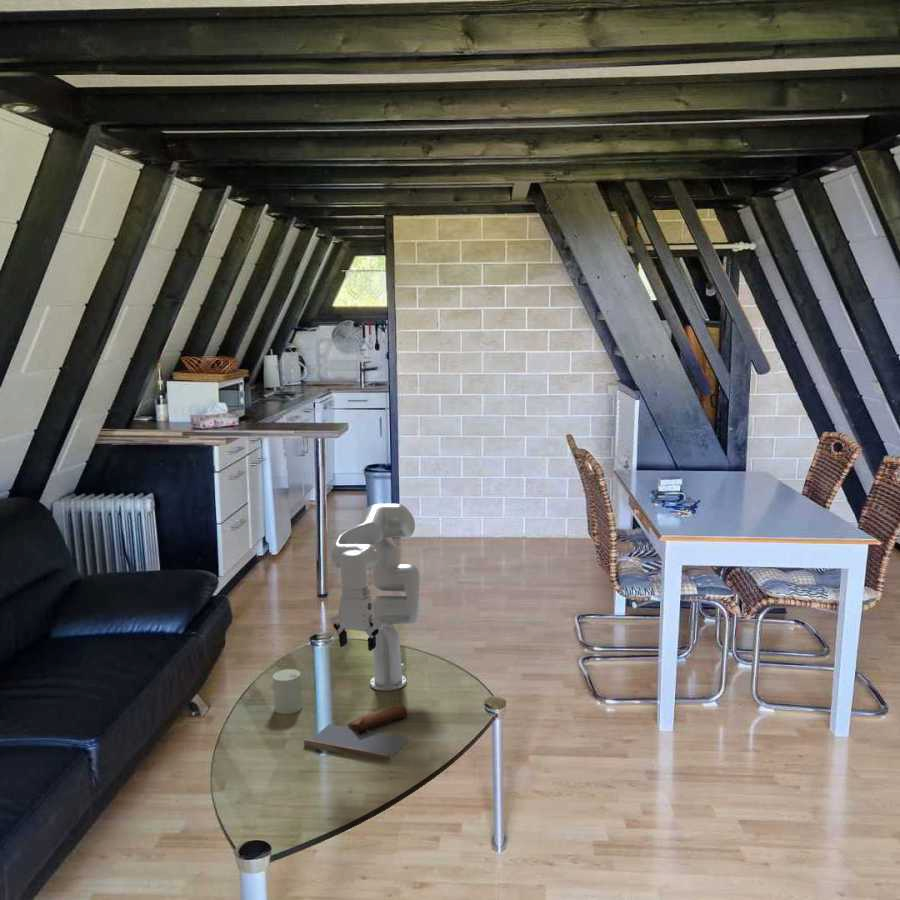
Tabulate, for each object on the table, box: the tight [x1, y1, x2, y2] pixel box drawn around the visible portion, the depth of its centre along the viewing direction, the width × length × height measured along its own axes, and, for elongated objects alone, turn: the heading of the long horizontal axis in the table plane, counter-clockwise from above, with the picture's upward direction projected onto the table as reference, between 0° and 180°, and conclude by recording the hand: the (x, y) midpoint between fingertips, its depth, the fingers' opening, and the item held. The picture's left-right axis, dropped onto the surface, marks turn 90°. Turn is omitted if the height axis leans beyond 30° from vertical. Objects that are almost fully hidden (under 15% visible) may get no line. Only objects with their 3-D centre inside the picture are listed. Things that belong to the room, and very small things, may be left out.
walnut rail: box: [303, 737, 391, 763], centre depth 242 cm, size 1×28×2 cm, turn 67°
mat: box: [312, 723, 410, 760], centre depth 248 cm, size 13×28×1 cm, turn 67°
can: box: [272, 668, 304, 715], centre depth 272 cm, size 9×9×12 cm
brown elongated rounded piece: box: [347, 705, 409, 735], centre depth 259 cm, size 18×7×7 cm, turn 129°
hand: (357, 647), depth 247 cm, fingers open, 9 cm apart
